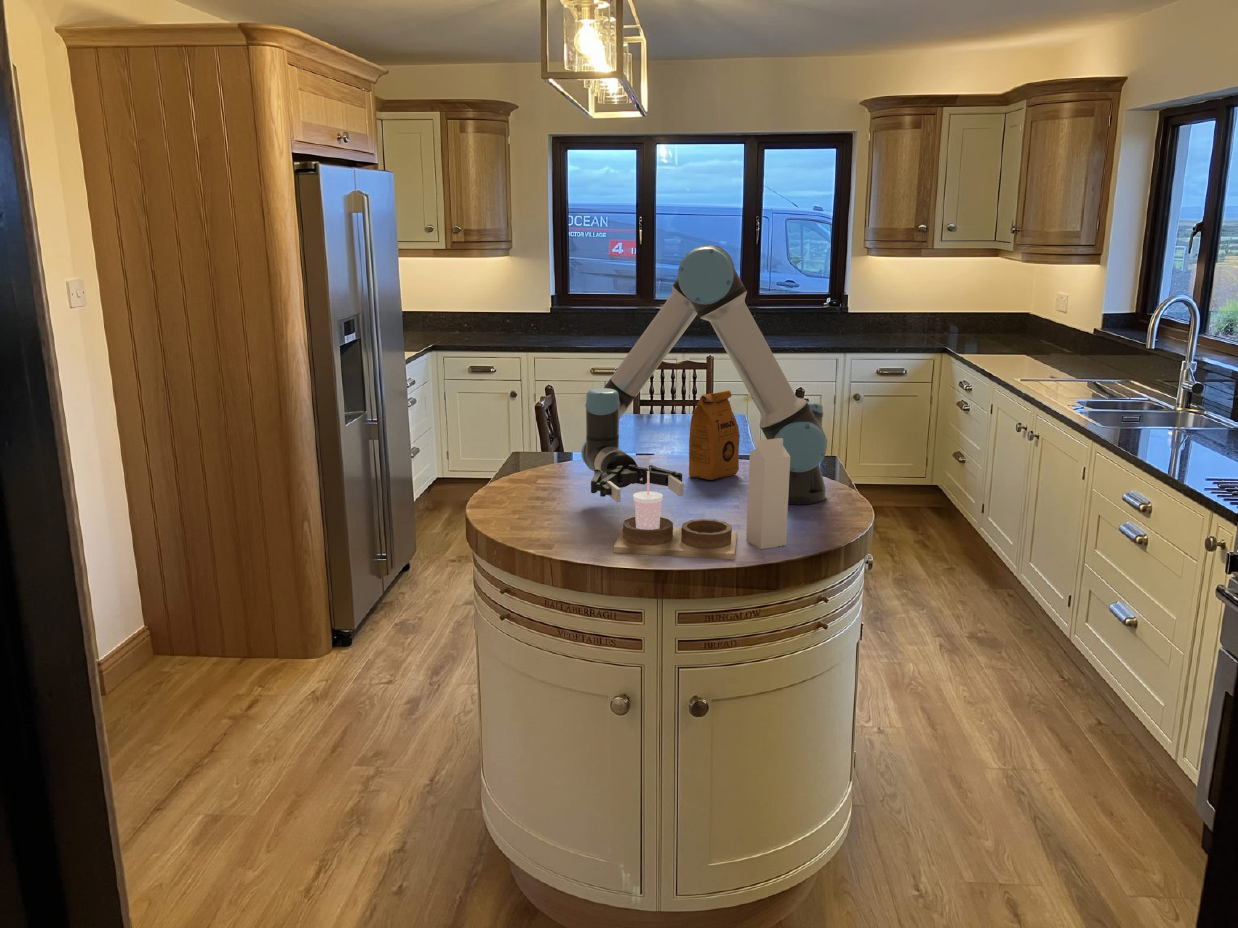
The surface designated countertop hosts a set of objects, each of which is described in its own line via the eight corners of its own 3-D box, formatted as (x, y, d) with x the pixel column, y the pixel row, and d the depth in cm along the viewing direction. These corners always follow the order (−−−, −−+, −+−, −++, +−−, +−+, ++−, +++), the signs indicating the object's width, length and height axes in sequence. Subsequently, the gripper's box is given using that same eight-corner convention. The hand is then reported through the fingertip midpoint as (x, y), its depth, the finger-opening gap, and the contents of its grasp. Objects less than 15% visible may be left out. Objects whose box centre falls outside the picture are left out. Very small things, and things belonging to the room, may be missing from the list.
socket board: (737, 536, 206) (737, 517, 204) (734, 559, 192) (734, 539, 191) (624, 530, 209) (624, 511, 208) (613, 552, 196) (613, 532, 195)
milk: (786, 546, 200) (792, 441, 195) (760, 549, 198) (766, 443, 192) (770, 537, 206) (775, 434, 200) (745, 540, 203) (750, 437, 198)
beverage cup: (659, 543, 198) (659, 476, 194) (629, 540, 199) (629, 474, 196) (665, 533, 203) (666, 468, 200) (636, 531, 205) (637, 466, 201)
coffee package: (744, 476, 253) (747, 392, 247) (710, 484, 245) (713, 397, 240) (716, 468, 260) (719, 386, 255) (683, 476, 252) (684, 392, 247)
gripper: (668, 479, 222) (706, 505, 202) (562, 488, 214) (591, 516, 194) (668, 446, 220) (707, 469, 200) (561, 455, 212) (591, 480, 192)
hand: (650, 492), depth 197 cm, fingers open, 13 cm apart
